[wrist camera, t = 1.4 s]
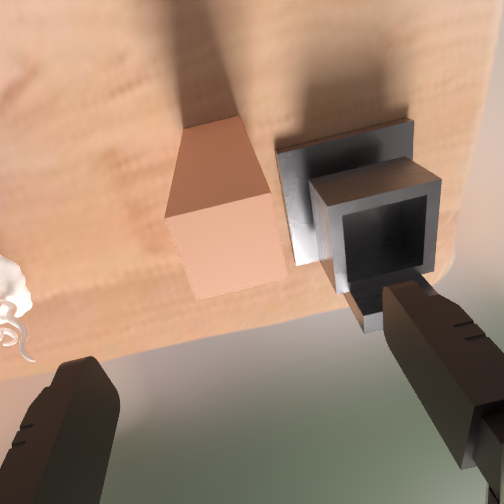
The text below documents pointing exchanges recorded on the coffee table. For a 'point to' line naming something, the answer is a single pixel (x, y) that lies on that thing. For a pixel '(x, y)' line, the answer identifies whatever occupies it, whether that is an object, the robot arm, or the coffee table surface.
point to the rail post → (223, 212)
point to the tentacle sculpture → (14, 303)
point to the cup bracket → (362, 213)
